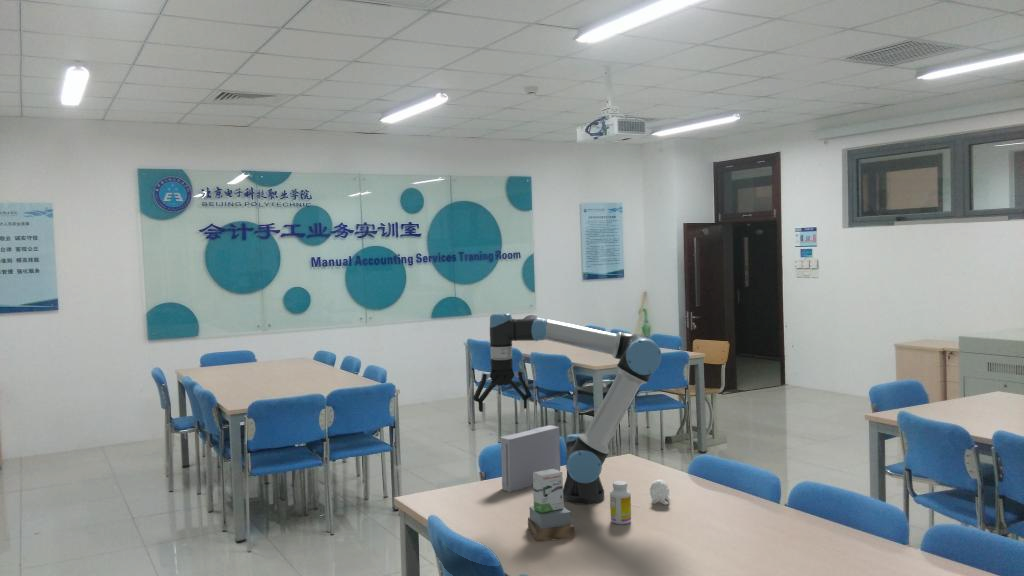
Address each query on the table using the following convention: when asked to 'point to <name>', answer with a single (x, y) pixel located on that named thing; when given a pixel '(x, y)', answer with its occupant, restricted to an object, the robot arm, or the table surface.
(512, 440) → the game console
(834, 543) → the table surface
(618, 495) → the supplement bottle
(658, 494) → the white octopus figurine
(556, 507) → the ink box
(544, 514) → the slate-grey top block
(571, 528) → the walnut base block
